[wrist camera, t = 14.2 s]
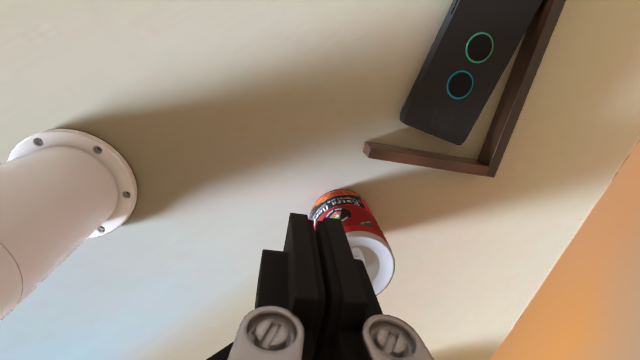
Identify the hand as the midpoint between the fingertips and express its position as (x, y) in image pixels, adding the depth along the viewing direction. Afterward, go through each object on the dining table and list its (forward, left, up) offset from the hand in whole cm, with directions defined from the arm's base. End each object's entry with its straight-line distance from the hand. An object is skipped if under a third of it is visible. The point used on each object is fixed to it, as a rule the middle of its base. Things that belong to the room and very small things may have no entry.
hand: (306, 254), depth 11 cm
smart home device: (+18, +10, -27) cm, 34 cm away
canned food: (+8, -12, -27) cm, 31 cm away
